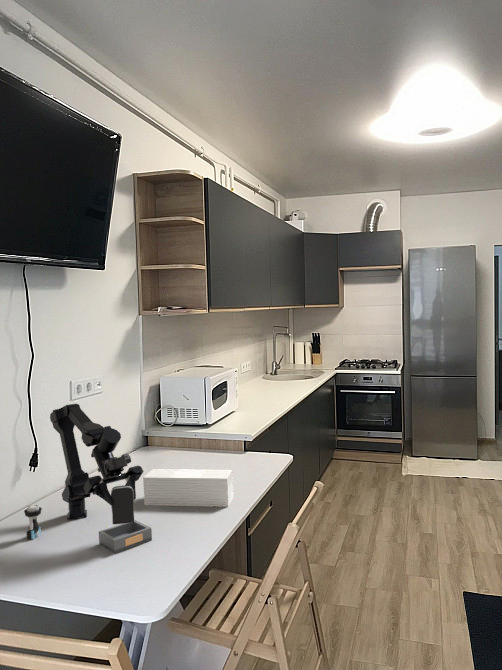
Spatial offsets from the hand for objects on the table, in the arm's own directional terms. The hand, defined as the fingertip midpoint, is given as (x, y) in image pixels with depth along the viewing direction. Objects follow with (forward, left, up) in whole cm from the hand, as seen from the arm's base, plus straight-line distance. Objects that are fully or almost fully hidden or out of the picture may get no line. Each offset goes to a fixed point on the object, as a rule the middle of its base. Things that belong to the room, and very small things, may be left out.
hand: (124, 502), depth 178 cm
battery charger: (-1, -1, -7) cm, 7 cm away
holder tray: (-1, 0, -13) cm, 13 cm away
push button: (-17, -28, -13) cm, 36 cm away
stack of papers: (-31, +26, -14) cm, 43 cm away
